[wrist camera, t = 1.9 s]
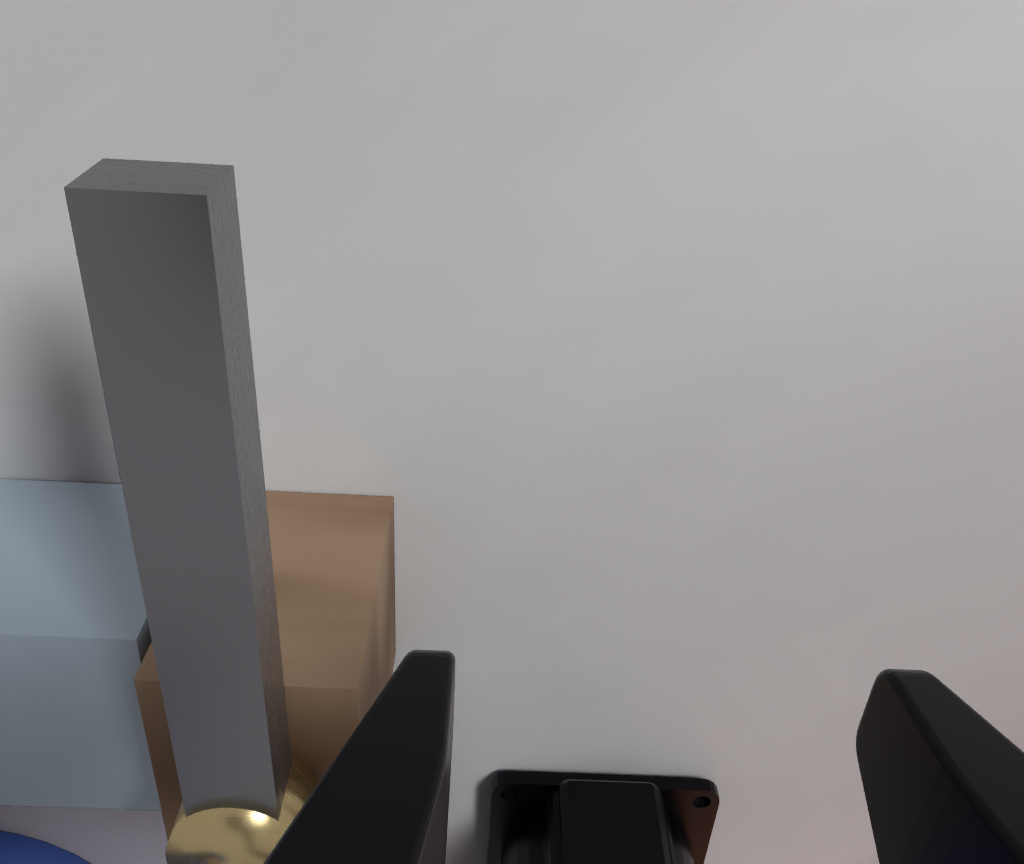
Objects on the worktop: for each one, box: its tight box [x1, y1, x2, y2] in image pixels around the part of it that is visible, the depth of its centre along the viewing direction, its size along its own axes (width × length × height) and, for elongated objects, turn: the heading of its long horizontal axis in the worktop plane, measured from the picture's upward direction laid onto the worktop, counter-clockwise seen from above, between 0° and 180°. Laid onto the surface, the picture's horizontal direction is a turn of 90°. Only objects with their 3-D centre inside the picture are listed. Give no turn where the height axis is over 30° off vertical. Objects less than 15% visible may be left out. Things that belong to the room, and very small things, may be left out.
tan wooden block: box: [134, 491, 395, 841], centre depth 21 cm, size 5×4×6 cm
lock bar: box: [64, 158, 317, 864], centre depth 15 cm, size 13×2×2 cm, turn 177°
